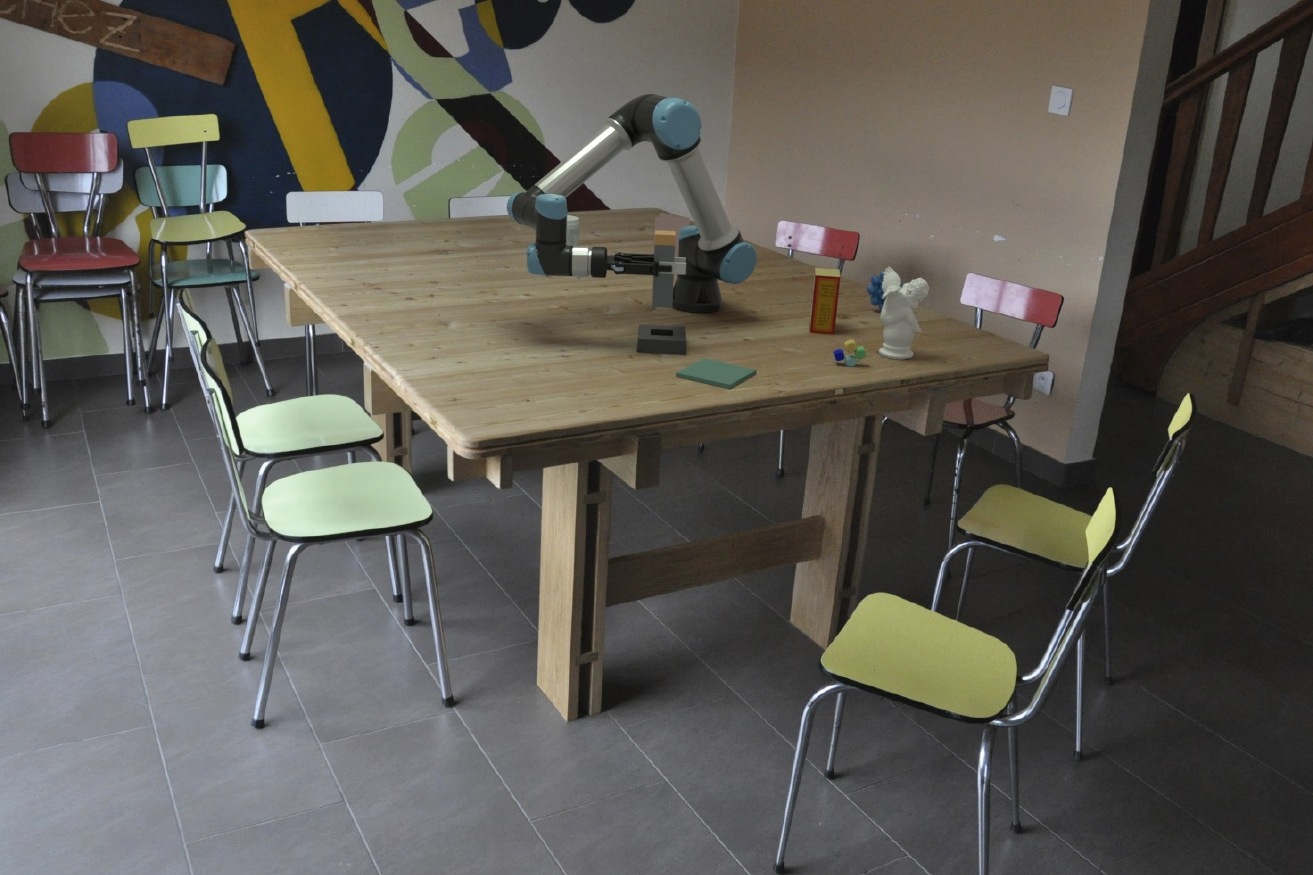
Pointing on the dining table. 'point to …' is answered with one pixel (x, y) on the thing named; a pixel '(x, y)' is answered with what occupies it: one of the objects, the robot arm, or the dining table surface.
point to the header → (661, 339)
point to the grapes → (877, 290)
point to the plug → (663, 282)
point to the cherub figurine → (900, 314)
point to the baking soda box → (824, 300)
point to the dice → (850, 347)
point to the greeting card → (671, 225)
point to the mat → (716, 373)
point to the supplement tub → (572, 230)
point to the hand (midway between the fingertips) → (685, 266)
